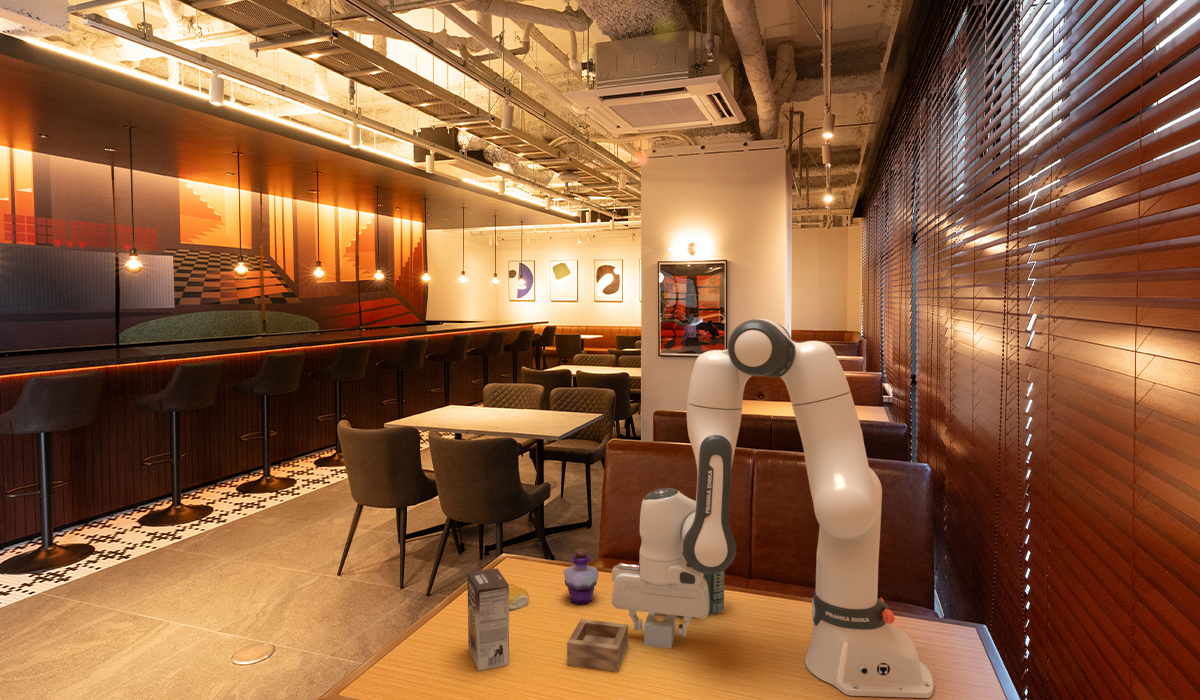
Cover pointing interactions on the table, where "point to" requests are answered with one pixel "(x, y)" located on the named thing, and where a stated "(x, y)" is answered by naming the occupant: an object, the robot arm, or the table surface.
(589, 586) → the potion bottle
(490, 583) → the coffee box
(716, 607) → the can
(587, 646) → the box
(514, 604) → the bread roll
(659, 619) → the lid
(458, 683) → the table surface
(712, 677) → the table surface
